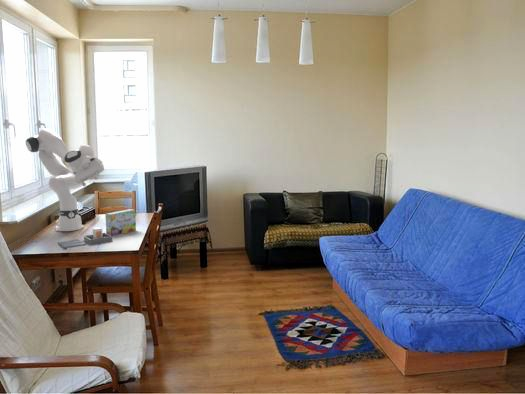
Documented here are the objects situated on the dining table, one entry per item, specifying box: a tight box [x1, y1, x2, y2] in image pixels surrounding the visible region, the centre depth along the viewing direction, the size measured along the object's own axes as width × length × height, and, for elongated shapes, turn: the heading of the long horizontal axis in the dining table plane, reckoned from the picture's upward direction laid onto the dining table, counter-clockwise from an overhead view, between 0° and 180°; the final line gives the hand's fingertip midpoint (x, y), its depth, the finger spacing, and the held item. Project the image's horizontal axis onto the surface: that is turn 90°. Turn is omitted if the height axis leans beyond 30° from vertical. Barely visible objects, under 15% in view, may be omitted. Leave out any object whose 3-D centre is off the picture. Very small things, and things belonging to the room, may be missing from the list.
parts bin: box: [83, 232, 113, 246], centre depth 283 cm, size 13×13×4 cm
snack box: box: [105, 208, 137, 237], centre depth 305 cm, size 21×6×15 cm, turn 148°
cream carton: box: [92, 227, 103, 239], centre depth 283 cm, size 5×4×8 cm
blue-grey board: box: [57, 238, 86, 250], centre depth 277 cm, size 16×12×1 cm
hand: (90, 182), depth 284 cm, fingers open, 8 cm apart
